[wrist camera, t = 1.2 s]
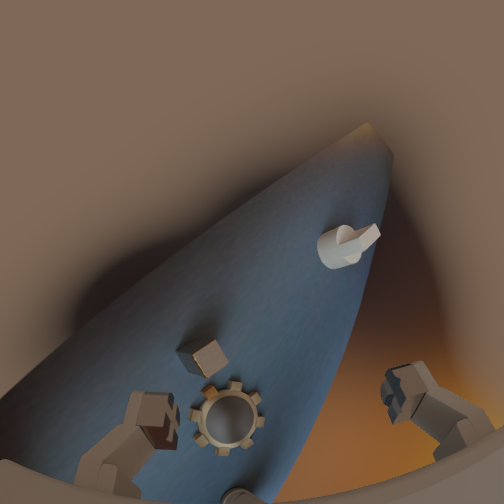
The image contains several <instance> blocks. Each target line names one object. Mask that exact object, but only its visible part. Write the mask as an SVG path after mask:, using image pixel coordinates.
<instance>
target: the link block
mask: <svg viewBox="0 0 504 504" xmlns="http://www.w3.org/2000/svg"><path fill="white" fill-rule="evenodd" d="M176 354H177V355H178V357H179V358H180V360H181V362H182V363H183V365H184V366H185V368H186V370H187V371H188V372H189V373H192V374H196V375H199V376H202V377H204V378H207V379H208V378H209V377H210V376H212V375H213V374H215V373H216V372H217V371H219V370H220V369H222V368H223V367H224V366H226V365H227V364H228V363H229V361H228V360H227V358H226V356H225V355H224V353H223V351H222V350H221V348H220V346H219V345H218V343H217V341H216V340H215V339H212V340H208V339H194V340H193V341H191V342H190V343H188V344H187V345H185V346H183V347H182V348H180V349H179V350H177V351H176Z"/></svg>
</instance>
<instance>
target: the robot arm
mask: <svg viewBox="0 0 504 504" xmlns="http://www.w3.org/2000/svg"><path fill="white" fill-rule="evenodd" d="M385 376H386V380H384V381H383V382H382V385H381V398H382V401H383V403H384V404H385V405H387V406H388V407H389V409H388V415H389V417H390V419H391V422H392V424H397V423H400V422H404V421H407V420H410V419H411V421H412V422H413V423H415V424H416V425H417V426H419V427H420V428H421V429H422V430H424V431H425V432H426V433H428V434H429V435H430V436H431V437H433V438H434V439H436V440H437V441H438V442H439V443H441V444H440V445H439V446H438V447H437V448H436V450H435V451H434V453H433V456H434V458H435V461H436V462H434V463H432V464H429V465H427V466H424V467H422V468H419V469H417V470H414V471H412V472H409V473H406V474H403V475H401V476H398V477H395V478H392V479H389V480H386V481H383V482H379V483H376V484H373V485H369V486H365V487H362V488H358V489H354V490H350V491H346V492H341V493H337V494H333V495H328V496H322V497H317V498H311V499H305V500H298V501H290V502H283V503H272V504H504V426H502V427H501V428H499V429H497V430H495V428H494V427H493V425H492V423H491V421H490V420H489V418H488V416H487V415H486V413H485V411H484V410H483V409H482V408H480V407H478V406H476V405H475V404H473V403H471V402H469V401H467V400H465V399H463V398H461V397H459V396H458V395H456V394H454V393H452V392H450V391H449V390H447V389H445V388H443V387H441V388H439V386H438V385H437V383H436V381H435V380H434V378H433V377H432V375H431V373H430V372H429V370H428V369H427V367H426V366H425V364H424V362H422V361H417V362H413V363H410V364H405V365H401V366H397V367H393V368H390V369H388V370H387V371H386V374H385ZM179 426H180V412H179V408H178V406H177V404H175V403H174V396H173V394H172V393H166V392H148V391H133V392H132V393H131V396H130V399H129V403H128V406H127V410H126V413H125V417H124V420H123V424H118V425H117V426H116V427H115V428H114V429H113V430H112V431H111V432H109V433H108V434H107V435H106V436H105V437H104V438H103V439H101V440H100V441H99V442H98V443H97V444H96V445H95V446H93V447H92V448H91V449H90V450H89V451H88V452H86V453H85V454H84V455H83V456H82V457H81V459H80V462H79V466H78V469H77V473H76V476H75V480H74V483H73V484H71V483H68V482H65V481H61V480H58V479H55V478H53V477H50V476H47V475H44V474H42V473H39V472H36V471H34V470H31V469H29V468H26V467H24V466H22V465H20V464H17V463H15V462H13V461H10V460H8V459H2V460H0V504H173V503H163V502H155V501H147V500H141V492H142V491H141V490H140V488H139V487H138V486H136V485H135V484H134V483H133V482H132V481H131V480H132V479H133V477H134V476H135V475H136V474H137V473H138V471H139V470H140V469H141V468H142V467H143V465H144V464H145V463H146V462H147V461H148V459H149V458H150V457H151V456H152V455H153V453H154V452H155V451H156V450H155V449H158V450H177V443H178V435H177V433H176V430H177V429H178V428H179Z"/></svg>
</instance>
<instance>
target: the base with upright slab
mask: <svg viewBox="0 0 504 504" xmlns="http://www.w3.org/2000/svg"><path fill="white" fill-rule="evenodd" d="M379 236H380V232H379V230H378V228H377V226H376V224H372V225H370V226H367V227H365V228H362V229H360V230H357V231H354V230H353V229H352V228H351V227H350V226H347V225H342V226H340V227H338V228H335V229H333V230H331V231H328V232H326V233H323V234H322V235H321V236H320V237H319V239H318V244H317V249H318V254H319V256H320V259H321V260H322V262H323V263H324V264H325V265H326V266H327V267H328V268H330V269H337V268H341V267H344V266H347V265H351V264H354V263H356V262H358V261H359V259H360V257H361V252H363V251H365V250H366V249H367V248H368V247H369V246H370V245H371V244H372V243H373V242H374V241H375V240H376V239H377V238H378V237H379Z"/></svg>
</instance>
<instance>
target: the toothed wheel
mask: <svg viewBox="0 0 504 504" xmlns="http://www.w3.org/2000/svg"><path fill="white" fill-rule="evenodd" d="M241 388H242V383H241V382H236V381H230V380H228V384H227V389H222V390H218V391H217V390H216V389H215V387H214V386H212V385H209V386H207V387H206V388H205V389H203V390H202V391H201V392H202V394H203V395H204V397H205V398H206V399H205V400H204V401H203V403H202V404H201V406H200V408H199V409H192V408H190V410H189V416H188V420H190V421H192V422H197V427H198V430H199V433H197V434H196V435H195V436H193V437H192V438H193V439H194V440H195V441H196V443H197V444H198V445H199V446H200V447H202V448H203V447H204V446H205V445H207V444H208V443H211V444H212V445H214V446H216V448H215V454H217V455H218V456H229V452H230V448H234V447H237V446H239V445H240V446H241V447H242V448H243V449H245V450H246V449H247V448H249V447H250V446H251V445H252V444H253V441H252V440H251V439H250V436H251V435H252V434H253V432H254V430H255V428H256V427H263V425H264V420H265V417H262V416H258V413H257V408H256V405H257V404H258V403H260V402H261V401H262V400H261V398H260V396H259V395H258V393H257V392H254V391H252V392H251V393H249V394H248V395H247V394H245V393H243V392H241Z"/></svg>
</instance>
